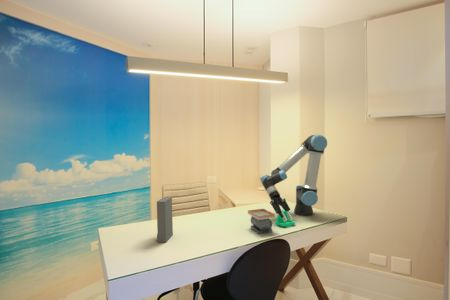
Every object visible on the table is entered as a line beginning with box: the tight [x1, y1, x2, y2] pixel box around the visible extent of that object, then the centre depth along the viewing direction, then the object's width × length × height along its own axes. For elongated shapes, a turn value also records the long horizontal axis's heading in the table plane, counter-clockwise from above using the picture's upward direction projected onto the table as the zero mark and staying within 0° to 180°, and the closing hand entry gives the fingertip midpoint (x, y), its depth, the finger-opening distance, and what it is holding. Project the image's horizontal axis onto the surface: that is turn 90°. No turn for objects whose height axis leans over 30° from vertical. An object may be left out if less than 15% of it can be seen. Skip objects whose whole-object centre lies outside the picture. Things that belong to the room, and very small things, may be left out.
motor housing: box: [247, 208, 276, 235], centre depth 185 cm, size 12×16×12 cm
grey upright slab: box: [156, 196, 174, 243], centre depth 172 cm, size 14×6×25 cm, turn 174°
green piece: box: [274, 209, 296, 228], centre depth 195 cm, size 12×8×10 cm, turn 119°
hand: (288, 220), depth 192 cm, fingers closed on green piece, 4 cm apart
